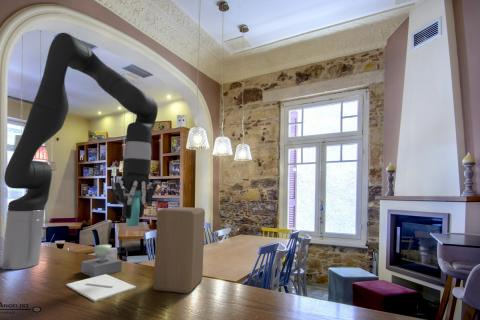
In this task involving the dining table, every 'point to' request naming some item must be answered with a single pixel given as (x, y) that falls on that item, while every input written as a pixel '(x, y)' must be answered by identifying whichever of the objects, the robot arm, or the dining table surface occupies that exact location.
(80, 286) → the pad
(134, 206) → the marker
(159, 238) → the wooden block
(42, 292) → the dining table surface
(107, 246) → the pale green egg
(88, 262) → the button housing
